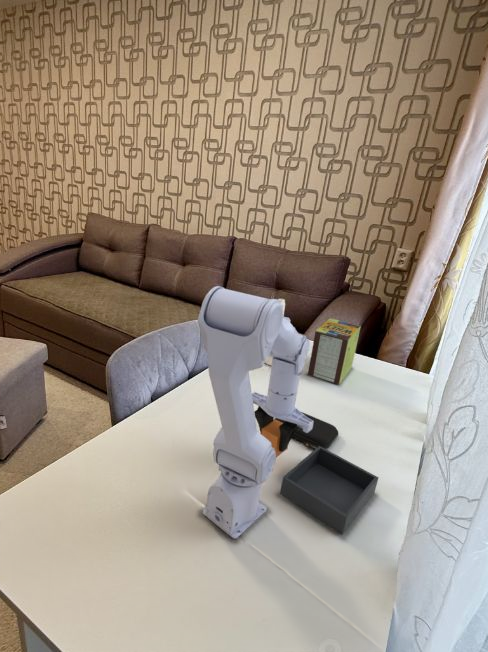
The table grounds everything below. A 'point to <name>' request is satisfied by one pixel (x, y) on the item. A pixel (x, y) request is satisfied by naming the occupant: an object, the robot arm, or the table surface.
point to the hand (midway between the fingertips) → (274, 444)
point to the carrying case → (316, 433)
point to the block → (273, 435)
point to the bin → (329, 488)
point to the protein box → (333, 350)
